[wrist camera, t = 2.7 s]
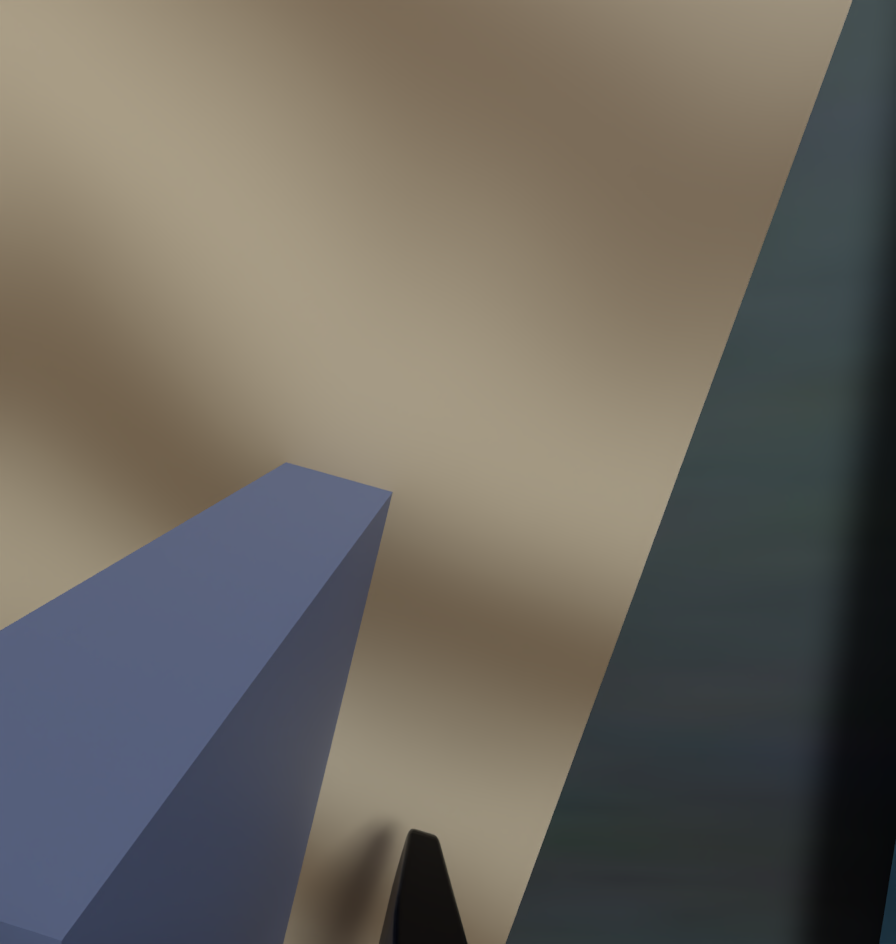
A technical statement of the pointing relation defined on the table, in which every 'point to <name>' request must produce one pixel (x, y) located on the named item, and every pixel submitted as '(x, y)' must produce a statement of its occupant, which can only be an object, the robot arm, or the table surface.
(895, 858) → the tetris game
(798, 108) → the wooden mat
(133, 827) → the card deck
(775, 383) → the table surface
